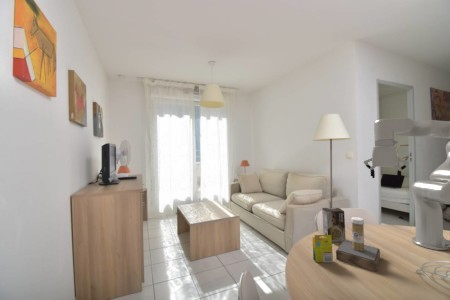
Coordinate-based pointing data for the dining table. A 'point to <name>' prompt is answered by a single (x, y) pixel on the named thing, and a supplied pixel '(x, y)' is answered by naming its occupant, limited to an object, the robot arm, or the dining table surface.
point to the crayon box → (322, 248)
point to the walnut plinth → (358, 255)
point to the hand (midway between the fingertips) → (385, 178)
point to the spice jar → (357, 233)
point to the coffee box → (334, 223)
